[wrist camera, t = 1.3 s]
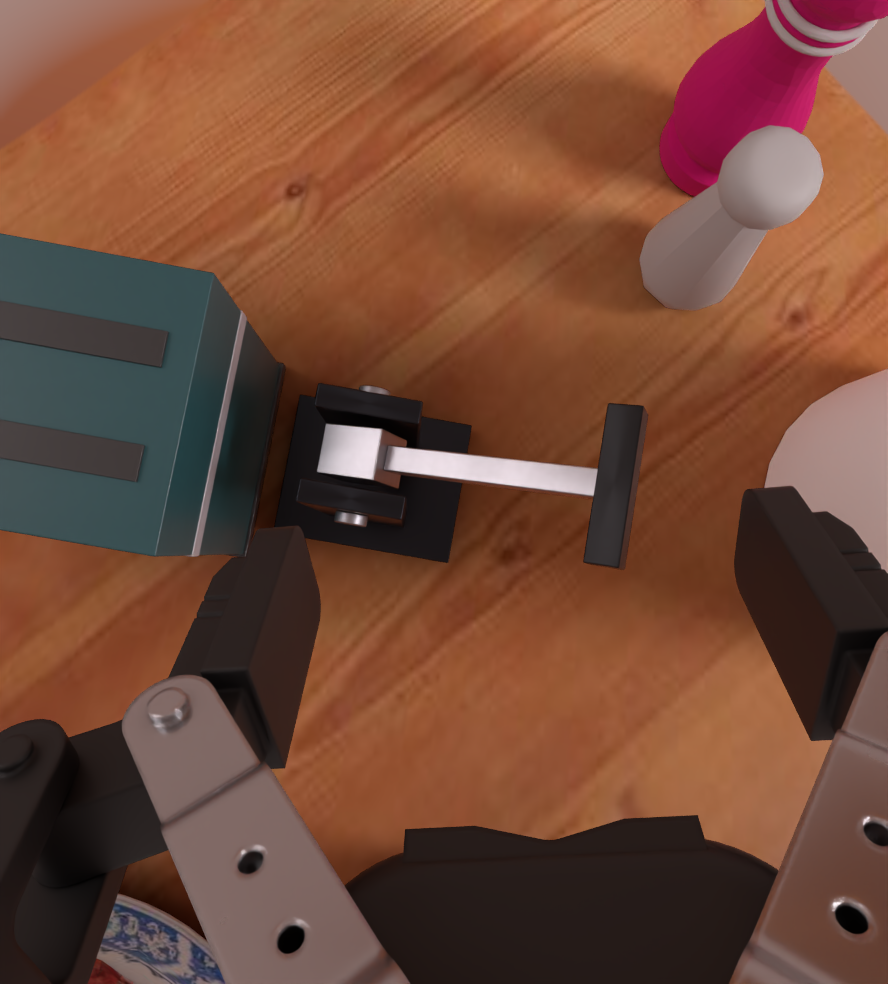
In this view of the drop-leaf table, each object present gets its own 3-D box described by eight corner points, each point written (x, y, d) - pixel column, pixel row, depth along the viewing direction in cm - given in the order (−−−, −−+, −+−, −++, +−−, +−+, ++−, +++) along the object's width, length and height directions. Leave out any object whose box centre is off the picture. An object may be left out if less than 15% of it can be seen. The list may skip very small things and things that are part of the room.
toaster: (286, 366, 43) (219, 267, 28) (248, 558, 42) (158, 563, 27) (109, 334, 42) (-56, 215, 27) (67, 526, 41) (-128, 514, 26)
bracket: (470, 428, 43) (495, 378, 30) (447, 562, 42) (463, 568, 30) (302, 398, 43) (257, 334, 30) (276, 532, 42) (219, 526, 29)
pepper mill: (631, 174, 45) (808, -126, 25) (681, 76, 45) (893, -293, 25) (735, 228, 45) (995, -29, 25) (783, 129, 45) (1075, -197, 25)
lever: (650, 417, 28) (641, 401, 26) (627, 571, 28) (616, 567, 25) (361, 394, 33) (333, 379, 31) (337, 522, 33) (307, 516, 31)
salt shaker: (738, 260, 45) (873, 143, 32) (694, 339, 44) (813, 252, 31) (656, 212, 45) (757, 75, 32) (611, 291, 44) (695, 184, 31)
